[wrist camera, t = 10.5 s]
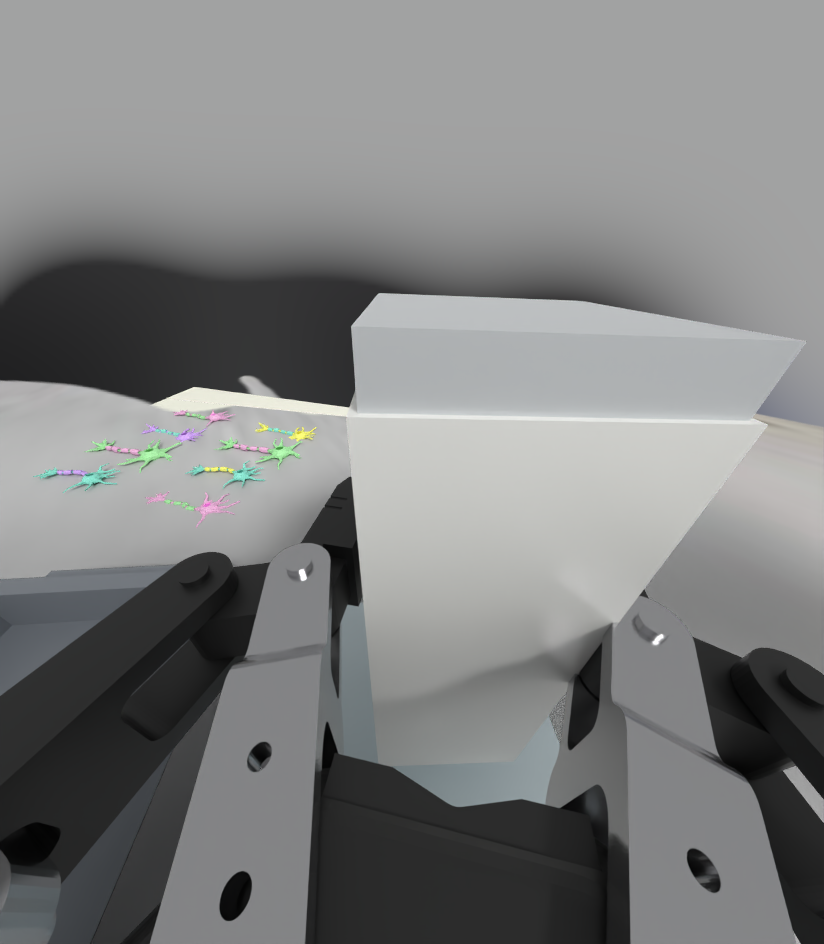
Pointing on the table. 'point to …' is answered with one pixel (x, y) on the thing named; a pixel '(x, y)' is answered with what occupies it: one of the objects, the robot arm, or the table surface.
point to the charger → (525, 495)
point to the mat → (442, 780)
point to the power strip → (24, 650)
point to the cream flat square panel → (195, 402)
